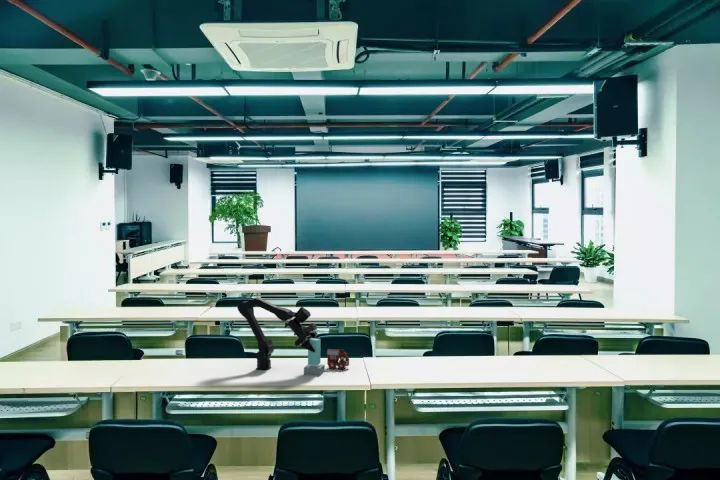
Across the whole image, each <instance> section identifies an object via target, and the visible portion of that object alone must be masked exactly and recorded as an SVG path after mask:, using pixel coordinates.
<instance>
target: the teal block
mask: <svg viewBox="0 0 720 480" xmlns="http://www.w3.org/2000/svg"><path fill="white" fill-rule="evenodd" d="M321 340H322V339H321V338H316V339H314V338H312V339H310V344H311V345H312V347H313V348H314V350H315V352H312V351H310V350H307V365H318V364H320V365H321V342H322V341H321Z"/></svg>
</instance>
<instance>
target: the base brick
mask: <svg viewBox="0 0 720 480" xmlns="http://www.w3.org/2000/svg"><path fill="white" fill-rule="evenodd" d="M325 366H326V365H325V364H321V363H320V364H318V365H308V364H307V365H305V366H304V367H303V375H305V376H322V375H323V374H324V373H325V371H326V369H325Z"/></svg>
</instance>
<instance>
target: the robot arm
mask: <svg viewBox="0 0 720 480" xmlns="http://www.w3.org/2000/svg"><path fill="white" fill-rule="evenodd" d="M255 307H259V308H262V309H263V310H265V311H267V312H270V313H271V314H273V315H275V317H276V318H277V319H279V320H280V321H281V322H285V323H284V329H287V328H289V329H290V330H291V331H292V332H293V336H296V337H297V339H296V340H295V341H294V345H295V347H296V348H298V347H300V348H304V349H305V350H307V351H308V350H310V351H312V352H315V350H314V348H313V347H312V345H311V344H310V339H312V338H314V339H317V336H318V334H319V333H318V332H317V330H318V329H317V327H318V326H317V324H316V323H314V322H312V323H310V324H309V326H305V325H304V326H303V325H302V324H304V323H305V322H306V321H307V320H308V319H309V318H310V317H311V315H312V314H311V312H310V311H309V310H308V309H307V308H305V307H303V306H300V308H299V309H298V310H297V311H296V312H294V311H292V310H291V309H290V308H287V307H281V306H278V305H275V304H273V303H272V302H269V301H267V300H266V299H263V298H262V297H255V298H253V299H250V300H248V301H247V300H246V301H241V302H239V303H238V305H237V311H238V312H239V314H240V315H241V316H242V317H244V318H245V320H246V321H247V324H248V325H249V327H250V330H251V331H252V333H253V335H254V337H255V339H256V341H257V350H258V351H257V352H256V353H255V355H254V356H255V359H256V367H255V370H261V371H262V370H263V371H267V370H269V369H271V368H272V364H271V363H272V361H271V356H272V354H273V352H274V351H275V347H274V346H275V344H274V343H273V341H272V339H271V338H269V339H268V338H267V337H266V335H265V333H264V331H263V330H262V328H261V326H260V324H259V322H258V320H257V318H256V316H255V309H254V308H255ZM287 321H288V322H287Z"/></svg>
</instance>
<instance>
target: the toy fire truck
mask: <svg viewBox="0 0 720 480" xmlns="http://www.w3.org/2000/svg"><path fill="white" fill-rule="evenodd" d="M326 355H327V362H326V364H327V367H328V368H329V369H330V370H334V369H335V368H336V367H337V368H338V370H341V371H342V370H344V369H345V368H346V367H349V366H350V358H349V356H348V353H347V352H346V351H345V350H344V348H342V349H333V348H332V349H331V348H327V349H326Z"/></svg>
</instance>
